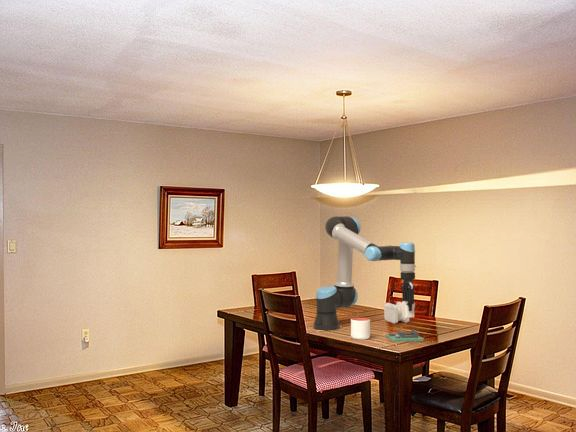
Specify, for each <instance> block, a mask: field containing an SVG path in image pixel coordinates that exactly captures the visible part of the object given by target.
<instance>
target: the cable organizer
mask: <svg viewBox="0 0 576 432" xmlns="http://www.w3.org/2000/svg"><path fill="white" fill-rule="evenodd" d="M383 307H384V309H383V311H384V312H383V314H384V316H383V318H384V320H385V321H386V322H388V323H391V324H393V325H396V324H398V322H403V323H404V324H407V323H409V322H410V318H405V317H403V316H402V302H401V301H396V303H395V304H393V303H391V302H385V303H384V306H383Z"/></svg>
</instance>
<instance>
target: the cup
mask: <svg viewBox="0 0 576 432" xmlns="http://www.w3.org/2000/svg"><path fill="white" fill-rule="evenodd" d="M350 337H351V338H352V339H353V340H358V341H360V340H361V341H362V340H363V341H364V340H368V339H370V338H371V319H370V318H367V317H353V318H350Z"/></svg>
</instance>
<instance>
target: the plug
mask: <svg viewBox="0 0 576 432" xmlns="http://www.w3.org/2000/svg"><path fill="white" fill-rule="evenodd" d="M401 301H402V300H401ZM406 304H408V302H407V301H402V316H403V317H405V318H409V319H411V318H415V308H416V303H415V302H414V304H413V305H412V315H413V317H407V305H406Z"/></svg>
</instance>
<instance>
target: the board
mask: <svg viewBox="0 0 576 432" xmlns="http://www.w3.org/2000/svg"><path fill="white" fill-rule="evenodd" d="M385 337H386V338H387V339H389V340H390V341H391V342H393V343H402V342H403V343H404V342H405V343H406V342H407V343H408V342H410V343H411V342H424V341H425V339H424V338H423V337H421V336H419V331H417V330H416V329H414V328H412V329H411V332H405V331H403V330H402V329H400V328H399V329H397V332H395V333H393V332H392V333H391V332H390V333H385Z"/></svg>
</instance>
